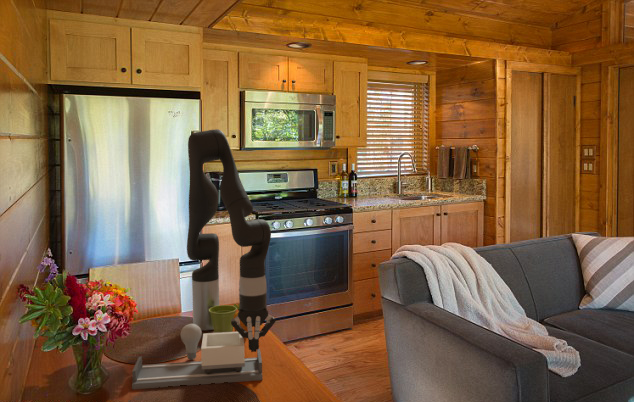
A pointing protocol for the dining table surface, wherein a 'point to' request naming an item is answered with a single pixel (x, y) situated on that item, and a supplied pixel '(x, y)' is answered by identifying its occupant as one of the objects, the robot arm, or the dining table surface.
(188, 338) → the lightbulb
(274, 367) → the dining table surface
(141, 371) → the rail board
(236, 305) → the carrot
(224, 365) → the cream open box
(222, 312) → the plant pot
